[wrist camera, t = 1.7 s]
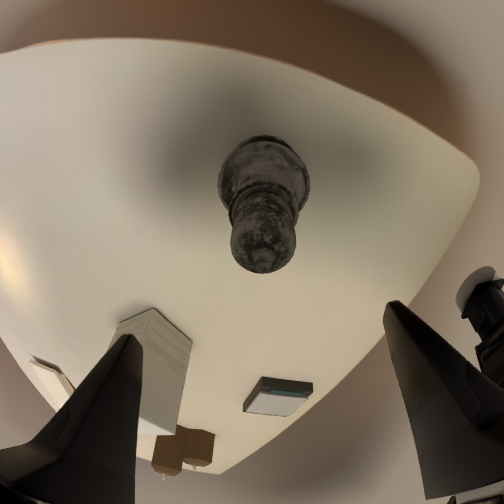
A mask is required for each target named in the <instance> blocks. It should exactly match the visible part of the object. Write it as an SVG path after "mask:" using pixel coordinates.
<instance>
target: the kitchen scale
mask: <svg viewBox="0 0 504 504" xmlns="http://www.w3.org/2000/svg"><path fill="white" fill-rule="evenodd" d="M312 393H313V383H305V382H296V381H288V380H280V379H273V378H266V377H262V378H261V379H260V381H259V382H258V384H257V385H256V387H255V388H254V390H253V391H252V393H251V394H250V395H249V397H248V398H247V400H246V401H245V402H244V404H243V412H248V413H255V414H264V415H273V416H284V417H286V416H289V415H291V414H292V413H293V412H294V411H295V410H296V409H297V408H299V407H300V406H301V405H302V404H303V403H304V402H305V401H306V400H307V399H308V397H309V396H310V395H311V394H312Z"/></svg>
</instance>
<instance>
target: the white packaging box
mask: <svg viewBox="0 0 504 504" xmlns="http://www.w3.org/2000/svg"><path fill="white" fill-rule="evenodd" d="M129 333H131V334H133V335H134V336H135V337H136V338H137V340H138V341H139V342H140V344H141V345H142V347H143V379H142V394H141V402H140V411H139V422H138V433H137V435H175V432H176V426H177V420H178V414H179V409H180V403H181V398H182V393H183V388H184V383H185V378H186V373H187V368H188V363H189V358H190V353H191V348H192V342H191V341H190V340H189V339H188V338H186V337H185V336H184V335H183V334H182V333H181V332H179V331H178V330H177V329H176V328H175V327H174V326H173V325H171V324H170V323H169V322H168V321H167V320H166V319H165V318H164V317H163V316H161V315H160V314H159V313H158V312H157V311H156V310H155V309H151V310H149V311H146V312H144V313H142V314H139V315H137V316H135V317H132V318H130V319H128V320H126V321H123V322H122V323H120V324H119V325H118V327H117V329H116V331H115V334H114V336H113V338H112V341H111V343H110V345H109V348H108V350H109V349H110V348H111V346H112V345H113V344H114V343H115V342H116V341H117V339H118V338H119V337H120V336H121V335H122V334H129ZM108 350H107V351H108Z"/></svg>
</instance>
